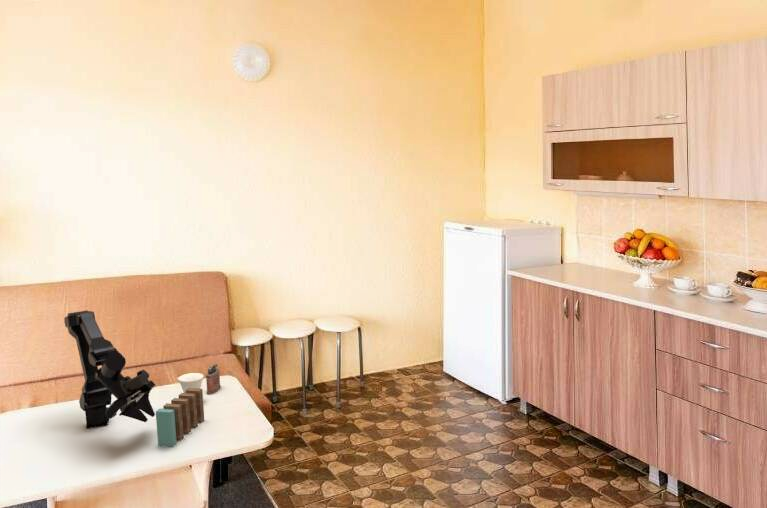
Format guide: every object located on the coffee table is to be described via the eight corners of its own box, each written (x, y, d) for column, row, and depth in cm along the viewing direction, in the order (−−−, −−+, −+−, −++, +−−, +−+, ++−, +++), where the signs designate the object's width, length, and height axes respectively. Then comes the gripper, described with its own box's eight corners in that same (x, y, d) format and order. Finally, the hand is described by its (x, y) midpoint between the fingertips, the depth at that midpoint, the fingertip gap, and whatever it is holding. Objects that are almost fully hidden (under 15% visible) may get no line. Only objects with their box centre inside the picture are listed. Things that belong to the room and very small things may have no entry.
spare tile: (173, 447, 184) (170, 412, 182) (158, 445, 185) (155, 411, 183) (176, 444, 186) (174, 409, 184) (161, 442, 187) (159, 408, 185)
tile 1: (201, 422, 201) (199, 390, 200) (187, 421, 202) (185, 390, 201) (204, 420, 203) (202, 388, 202) (190, 419, 204) (188, 388, 203)
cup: (178, 400, 222) (176, 373, 220) (205, 396, 224) (203, 370, 223) (178, 409, 213) (176, 381, 212) (205, 405, 216) (203, 378, 214)
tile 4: (180, 440, 188) (177, 406, 186) (165, 439, 189) (163, 405, 187) (183, 437, 190) (181, 404, 188) (169, 436, 191) (166, 403, 189)
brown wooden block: (187, 434, 192) (185, 401, 191) (173, 433, 193) (171, 400, 192) (190, 431, 194) (188, 398, 193) (176, 430, 195) (174, 398, 194)
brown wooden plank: (194, 428, 197) (192, 396, 195) (180, 427, 198) (178, 395, 196) (197, 425, 199) (195, 393, 197) (183, 424, 200) (181, 392, 198)
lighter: (213, 394, 226) (211, 369, 225) (204, 394, 227) (203, 368, 225) (222, 387, 234) (221, 362, 233) (214, 386, 235) (213, 361, 233)
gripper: (111, 375, 175) (148, 414, 174) (147, 355, 193) (181, 390, 192) (89, 399, 177) (126, 438, 177) (127, 378, 195) (161, 412, 195)
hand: (150, 418), depth 185 cm, fingers open, 4 cm apart
